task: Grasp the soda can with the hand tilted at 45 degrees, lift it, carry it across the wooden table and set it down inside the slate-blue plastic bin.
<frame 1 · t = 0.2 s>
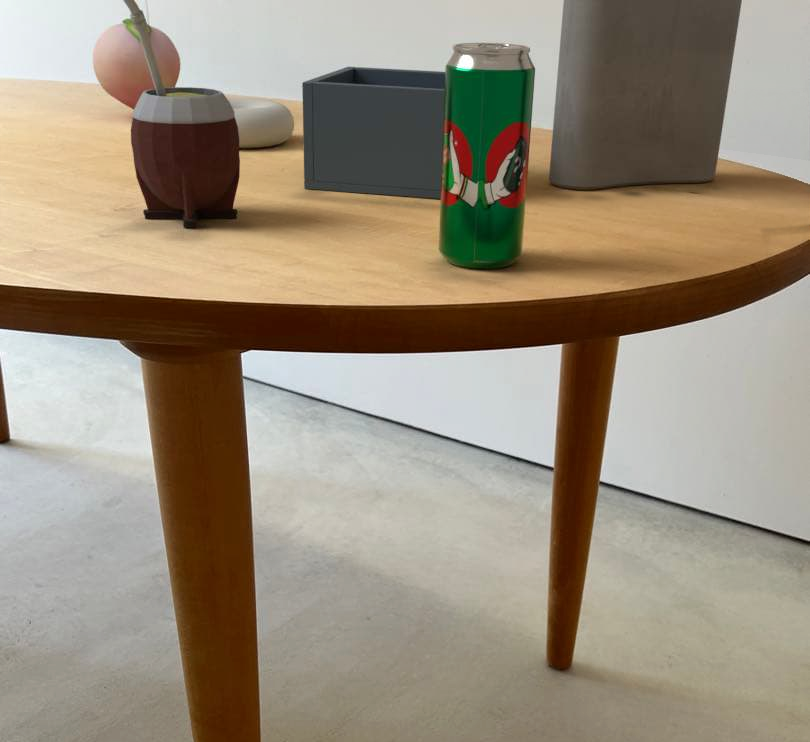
mate gourd: (187, 221, 76), on the table
bin: (396, 180, 89), on the table
donut: (240, 144, 103), on the table
flask: (629, 182, 91), on the table
soda can: (479, 263, 68), on the table
decorative fruit: (140, 119, 114), on the table
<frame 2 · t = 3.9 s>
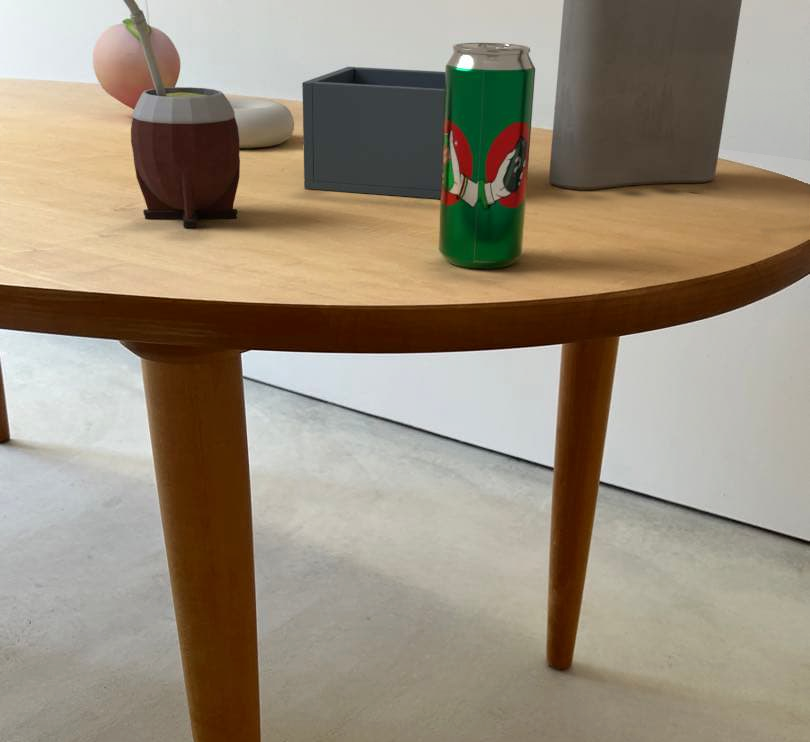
nothing on the table moved.
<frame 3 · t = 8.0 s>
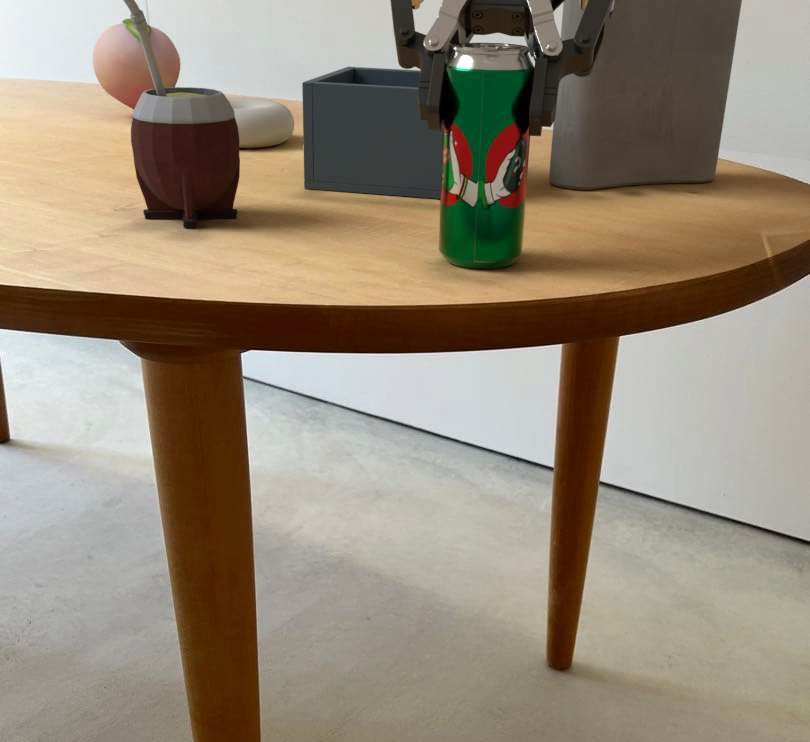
hand: (484, 123, 62), 8 cm above the table, tool tilted 45°, fingers closed on soda can, 5 cm apart
soda can: (479, 263, 68), on the table, touching gripper
everything else where it was.
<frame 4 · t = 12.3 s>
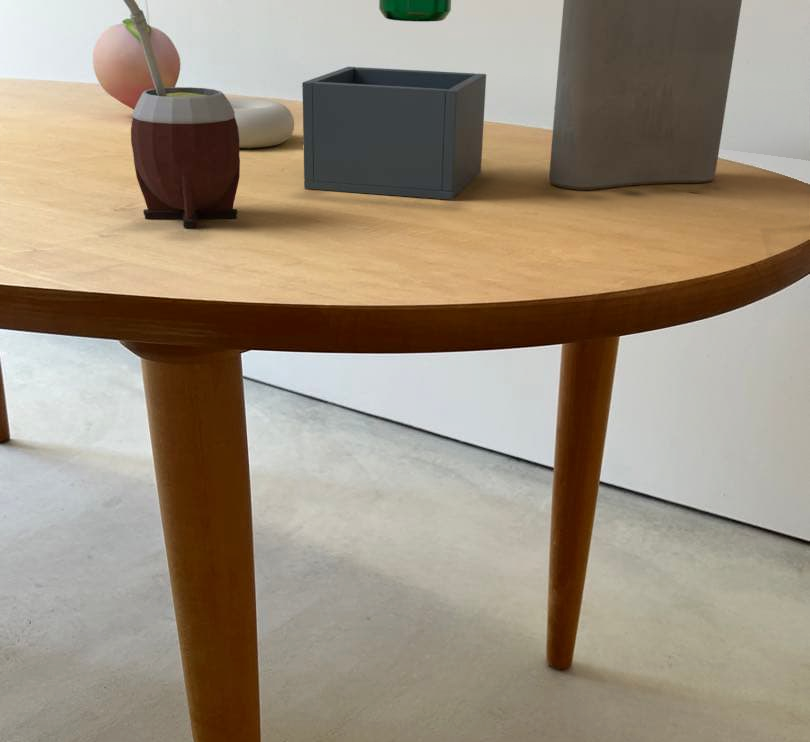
soda can: (414, 22, 78), point 12 cm above the table, touching gripper
everything else where it was.
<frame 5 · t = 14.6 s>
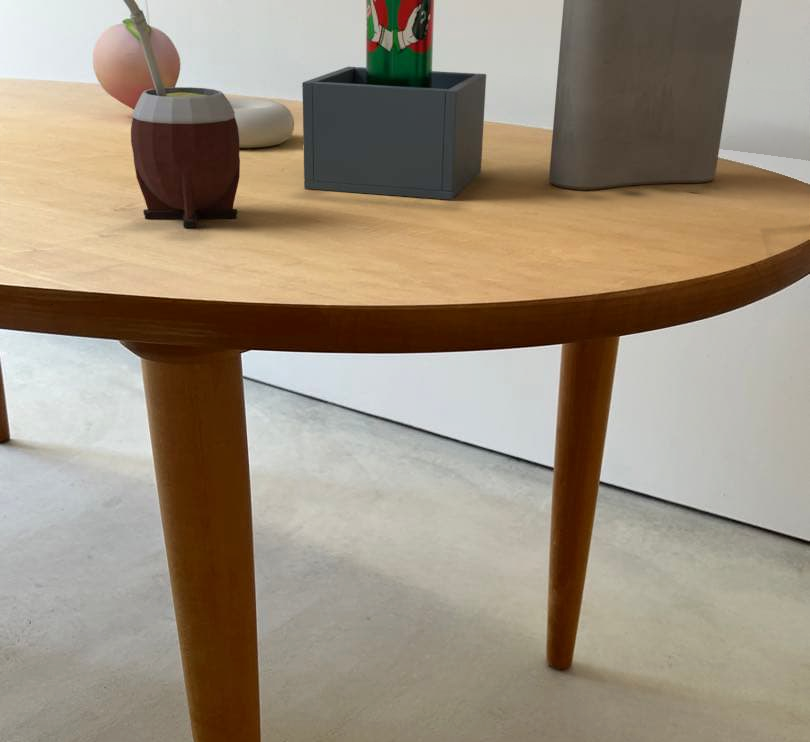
soda can: (398, 102, 86), point 6 cm above the table, touching gripper
everything else where it was.
when the fingers open (9 cm above the table, at t = 16.6 s): soda can stays where it is, resting on bin.
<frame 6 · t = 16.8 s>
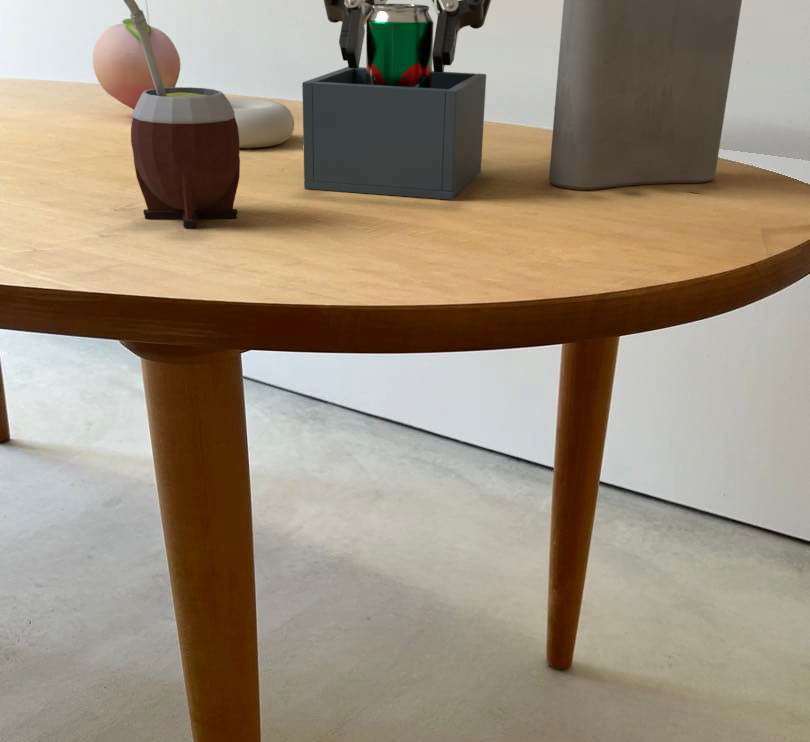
hand: (394, 62, 83), 9 cm above the table, tool tilted 45°, fingers open, 6 cm apart
soda can: (397, 174, 89), resting on bin
everything else where it was.
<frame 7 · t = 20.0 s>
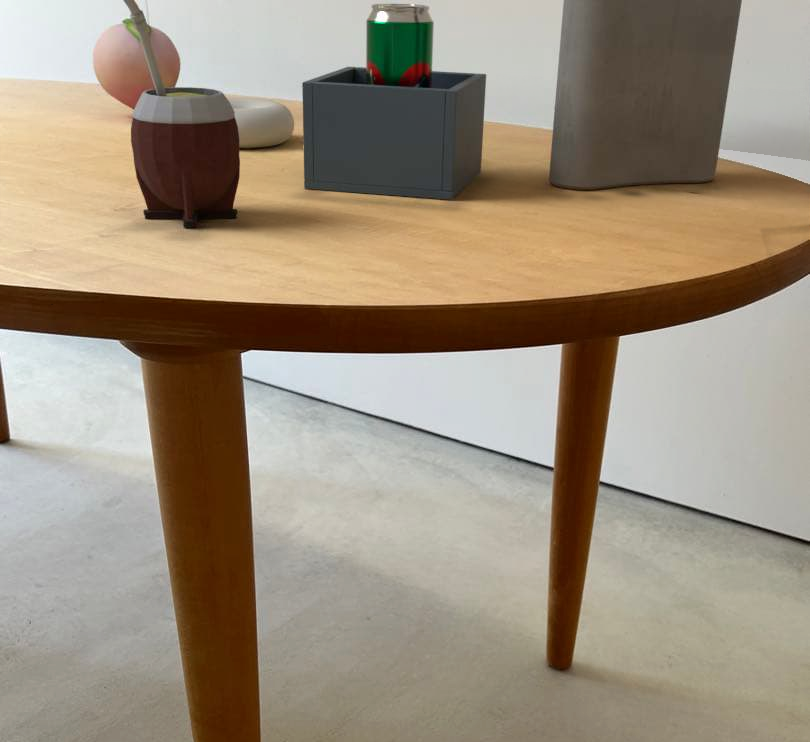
nothing on the table moved.
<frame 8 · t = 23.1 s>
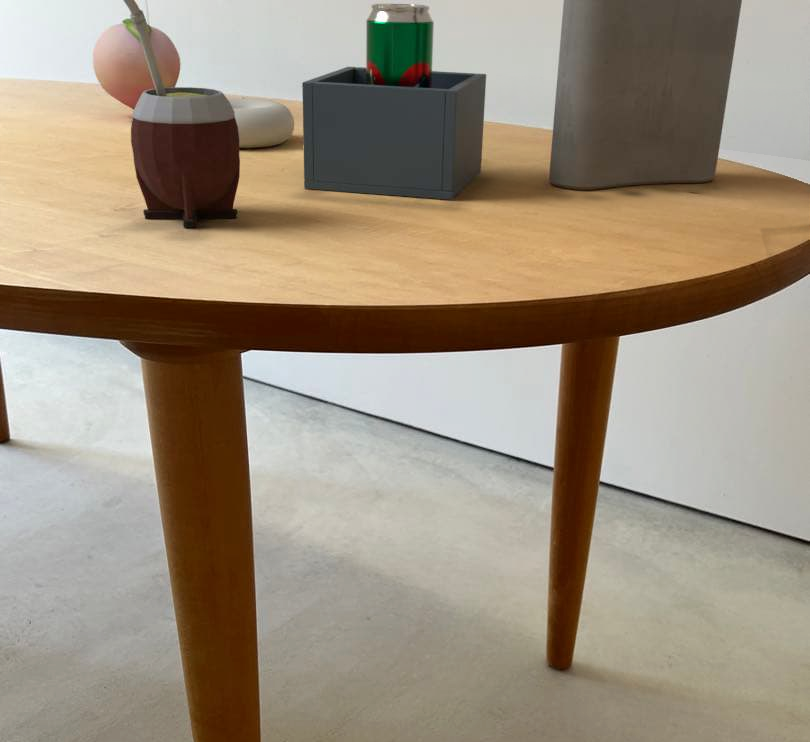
nothing on the table moved.
at the end: soda can inside the target area in the bin (0.2 cm from its centre), point 0.4 cm above the bin's base; soda can tilted 0° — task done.
